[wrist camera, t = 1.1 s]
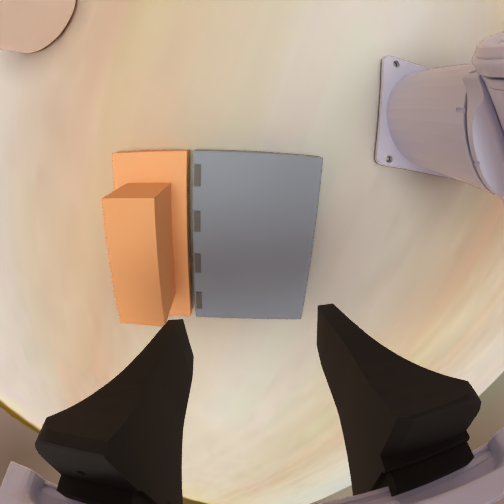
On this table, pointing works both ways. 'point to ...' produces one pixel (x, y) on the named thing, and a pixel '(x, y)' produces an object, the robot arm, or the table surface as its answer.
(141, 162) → the stub
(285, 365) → the table surface
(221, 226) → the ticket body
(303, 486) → the table surface
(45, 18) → the can
